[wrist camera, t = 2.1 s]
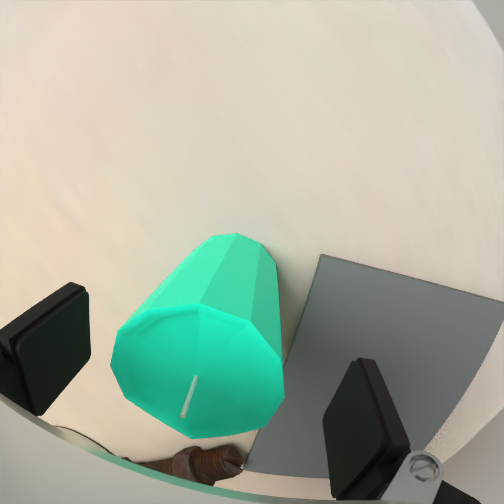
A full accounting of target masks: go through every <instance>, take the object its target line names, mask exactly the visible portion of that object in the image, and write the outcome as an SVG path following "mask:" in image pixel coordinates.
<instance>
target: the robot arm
mask: <svg viewBox="0 0 504 504" xmlns="http://www.w3.org/2000/svg"><path fill="white" fill-rule="evenodd" d="M90 356H91V343H90V323H89V294H88V292H86V289H85V287H84V286H81V285H78V284H76V283H73V282H69V283H68V284H66V285H64V286H63V287H61V288H60V289H58V290H57V291H55V292H54V293H52V294H51V295H49V296H48V297H46V298H45V299H43V300H42V301H40V302H39V303H37V304H36V305H34V306H33V307H31V308H30V309H29V310H27V311H26V312H24V313H23V314H21V315H20V316H19V317H17V318H16V319H14V320H13V321H11V322H10V323H9V324H7V325H6V326H5V327H3V328H2V329H0V504H481V503H480V502H479V501H478V500H476V499H475V498H473V497H471V496H470V495H468V494H466V493H464V492H462V491H460V490H459V489H457V488H455V487H453V486H452V485H450V484H448V483H446V482H444V481H443V480H442V478H443V474H444V471H443V466H442V464H441V462H440V461H439V460H438V459H437V457H435V456H434V455H432V454H431V453H428V452H426V451H413V452H411V450H410V447H409V446H410V445H411V444H410V442H409V439H408V436H407V434H406V431H405V429H404V426H403V424H402V422H401V419H400V417H399V414H398V412H397V409H396V407H395V405H394V402H393V400H392V398H391V395H390V393H389V391H388V388H387V386H386V384H385V381H384V379H383V377H382V375H381V372H380V370H379V368H378V366H377V364H376V361H375V360H373V359H367V358H360V357H359V358H358V359H357V360H356V361H352V362H351V363H350V365H349V367H348V369H347V371H346V373H345V375H344V377H343V379H342V381H341V383H340V385H339V387H338V389H337V391H336V393H335V395H334V396H333V398H332V400H331V402H330V404H329V406H328V408H327V409H326V411H325V413H324V415H323V420H322V424H323V431H324V438H325V446H326V453H327V461H328V469H329V478H330V486H331V494H332V497H333V498H336V500H310V499H295V498H283V497H273V496H265V495H257V494H251V493H244V492H238V491H233V490H228V489H223V488H218V487H213V486H209V485H204V484H200V483H196V482H192V481H188V480H185V479H181V478H177V477H174V476H170V475H167V474H164V473H161V472H158V471H155V470H152V469H149V468H146V467H143V466H140V465H137V464H134V463H132V462H129V461H127V460H124V459H121V458H119V457H116V456H114V455H112V454H110V453H109V452H107V451H106V450H105V449H104V448H102V447H101V446H99V445H98V444H96V443H95V442H93V441H91V440H89V439H88V438H86V437H84V436H82V435H80V434H78V433H76V432H74V431H71V430H69V429H65V428H62V427H54V426H52V425H50V424H48V423H47V422H45V421H43V420H42V419H40V418H38V417H37V416H38V415H39V416H42V415H43V414H44V413H45V412H46V410H47V409H48V408H49V407H50V406H51V404H52V403H53V402H54V401H55V399H56V398H57V397H58V396H59V395H60V393H61V392H62V391H63V390H64V389H65V387H66V386H67V385H68V384H69V383H70V382H71V380H72V379H73V378H74V377H75V376H76V375H77V373H78V372H79V371H80V370H81V369H82V368H83V366H84V365H85V364H86V363H87V362H88V360H89V359H90Z"/></svg>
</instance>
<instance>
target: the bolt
mask: <svg viewBox="0 0 504 504" xmlns="http://www.w3.org/2000/svg"><path fill="white" fill-rule="evenodd" d="M121 459H124V460H127V461H129V462H132V461H131V460H130V459H128V458H127V457H125V458H121ZM132 463H133V462H132ZM242 464H243V459H242V457H241V455H240V454H239V453H238V452H237V451H236V450H235V449H234V448H232V447H230V446H222V447H219V448H215V449H211V450H207V451H203V450H202V449H201V448H199V447H196V446H193V447H189V448H185V449H183V450H181V451H179V452H178V453H176V454H175V455H174V458H173V459H169V460H164V461H158V462H153V463H147V464H141V465H140V466H143V467H146V468H149V469H152V470H155V471H158V472H161V473H164V474H167V475H170V476H174V477H177V478H181V479H185V480H188V481H192V482H196V483H200V484H204V485H209V486H213V485H214V484H215V481H218V480H224V479H228V478H231V477H232V478H233V477H235V476H236V475H239V474H240V473H242V471H243V469H241V468H239V467H241V465H242ZM137 465H138V464H137Z"/></svg>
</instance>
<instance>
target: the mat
mask: <svg viewBox="0 0 504 504" xmlns="http://www.w3.org/2000/svg"><path fill="white" fill-rule="evenodd" d="M503 320H504V302H501V301H497V300H494V299H490V298H487V297H483V296H479V295H476V294H472V293H469V292H465V291H461V290H458V289H454V288H450V287H447V286H443V285H439V284H435V283H432V282H428V281H424V280H420V279H417V278H413V277H409V276H405V275H402V274H398V273H394V272H390V271H386V270H382V269H379V268H375V267H371V266H367V265H363V264H359V263H355V262H351V261H347V260H344V259H340V258H336V257H332V256H328V255H324V254H321V255H320V258H319V262H318V265H317V268H316V272H315V275H314V278H313V281H312V285H311V288H310V291H309V294H308V297H307V300H306V303H305V306H304V309H303V312H302V315H301V318H300V321H299V324H298V327H297V330H296V333H295V336H294V339H293V342H292V345H291V347H290V350H289V353H288V356H287V359H286V361H285V364H284V367H283V373H284V393H285V398H284V399H283V401H282V402H281V404H280V405H279V407H278V408H277V410H276V412H275V413H274V415H273V416H272V418H271V419H270V421H269V422H268V424H267V425H266V426H265V427H264V428H260V429H259V431H258V433H257V436H256V438H255V441H254V443H253V445H252V448H251V450H250V452H249V455H248V457H247V459H246V461H245V464H244V467H243V470H246V471H252V472H259V473H266V474H274V475H283V476H294V477H308V478H329V469H328V461H327V453H326V446H325V438H324V431H323V424H322V420H323V415H324V413H325V411H326V409H327V408H328V406H329V404H330V402H331V400H332V398H333V396H334V395H335V393H336V391H337V389H338V387H339V385H340V383H341V381H342V379H343V377H344V375H345V373H346V371H347V369H348V367H349V365H350V363H351V362H352V361H356V360H357V359H358V358H359V357H360V358H367V359H373V360H375V361H376V364H377V366H378V368H379V370H380V372H381V375H382V377H383V379H384V381H385V384H386V386H387V388H388V391H389V393H390V395H391V398H392V400H393V402H394V405H395V407H396V409H397V412H398V414H399V417H400V419H401V422H402V424H403V426H404V429H405V431H406V434H407V436H408V439H409V442H410V444H411V445H410V446H409V447H410V450H411V452H413V451H423V449H424V448H425V447H426V446H427V445H428V443H429V442H430V441H431V440H432V438H433V437H434V436H435V434H436V433H437V432H438V430H439V429H440V428H441V426H442V425H443V424H444V422H445V421H446V420H447V418H448V417H449V415H450V414H451V413H452V411H453V410H454V408H455V407H456V405H457V404H458V402H459V401H460V399H461V398H462V396H463V395H464V393H465V391H466V390H467V388H468V387H469V385H470V383H471V382H472V380H473V378H474V377H475V375H476V373H477V371H478V370H479V368H480V366H481V364H482V363H483V361H484V359H485V357H486V355H487V353H488V351H489V349H490V347H491V345H492V343H493V341H494V339H495V337H496V335H497V333H498V331H499V329H500V327H501V324H502V322H503Z"/></svg>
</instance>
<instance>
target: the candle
mask: <svg viewBox="0 0 504 504" xmlns="http://www.w3.org/2000/svg"><path fill="white" fill-rule="evenodd" d="M110 366H111V368H112V371H113V373H114V375H115V377H116V379H117V382H118V384H119V386H120V388H121V390H122V392H123V394H124V396H125V398H126V399H128V400H129V401H131V402H132V403H134V404H135V405H137V406H138V407H140V408H141V409H143V410H144V411H146V412H147V413H149V414H150V415H152V416H153V417H155V418H157V419H158V420H160V421H162V422H163V423H165V424H166V425H168V426H170V427H172V428H173V429H175V430H177V431H178V432H180V433H182V434H184V435H185V436H187V437H189V438H191V439H199V438H211V437H221V436H230V435H235V434H240V433H244V432H248V431H252V430H256V429H260V428H264V427H265V426H266V425H267V424H268V422H269V421H270V419H271V418H272V416H273V415H274V413H275V412H276V410H277V408H278V407H279V405H280V404H281V402H282V401H283V399H284V398H285V393H284V373H283V355H282V337H281V321H280V305H279V290H278V279H277V270H276V263H275V262H274V260H273V259H272V258H271V256H270V255H269V254H268V252H267V251H266V250H265V248H264V247H263V246H262V244H261V243H259V242H256V241H254V240H252V239H249V238H247V237H245V236H242V235H240V234H238V233H235V234H227V235H218V236H212V237H210V238H209V239H208V240H207V241H205V242H204V243H203V244H201V245H200V246H199V247H197V248H196V249H195V250H194V251H193V252H192V253H191V254H190V255H189V256H188V257H187V258H186V259H185V260H184V261H183V262H182V263H181V264H180V265H179V266H178V267H177V268H176V269H175V270H174V271H173V272H172V273H171V274H170V275H169V276H168V277H167V278H166V279H165V281H164V282H163V283H162V284H161V285H160V286H159V287H158V288H157V289H156V290H155V291H154V292H153V293H152V294H151V295H150V296H149V297H148V299H147V300H146V301H145V302H144V303H143V304H142V305H141V306H140V307H139V308H138V309H137V310H136V311H135V313H134V314H133V315H132V316H131V317H130V318H129V319H128V320H127V321H126V322H125V323H124V325H123V326H122V327H121V328H120V329H119V330H118V332H117V336H116V340H115V345H114V350H113V354H112V359H111V364H110Z"/></svg>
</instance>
